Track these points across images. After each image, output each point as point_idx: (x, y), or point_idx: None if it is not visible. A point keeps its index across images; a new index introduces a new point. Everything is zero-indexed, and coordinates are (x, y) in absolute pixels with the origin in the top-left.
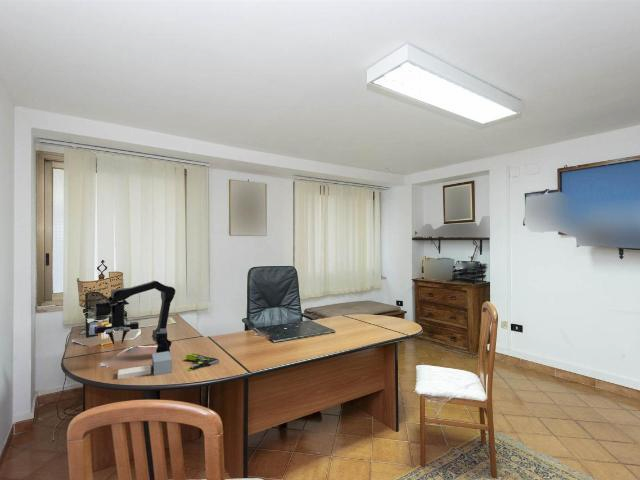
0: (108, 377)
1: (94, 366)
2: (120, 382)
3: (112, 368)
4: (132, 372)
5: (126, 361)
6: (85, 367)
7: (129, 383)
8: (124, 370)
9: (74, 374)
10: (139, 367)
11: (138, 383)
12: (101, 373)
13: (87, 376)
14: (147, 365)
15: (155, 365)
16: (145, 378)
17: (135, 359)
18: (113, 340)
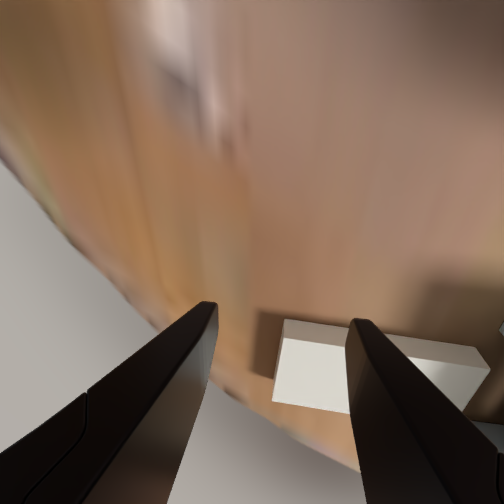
0: (230, 336)
1: (98, 34)
2: (282, 415)
3: (250, 192)
4: (347, 412)
5: (386, 43)
6: (24, 16)
7: (315, 441)
8: (313, 365)
9: (12, 170)
10: None
11: (348, 457)
12: (185, 254)
13: (112, 258)
14: (468, 365)
15: None
16: None
17: (492, 18)
18: (182, 444)
